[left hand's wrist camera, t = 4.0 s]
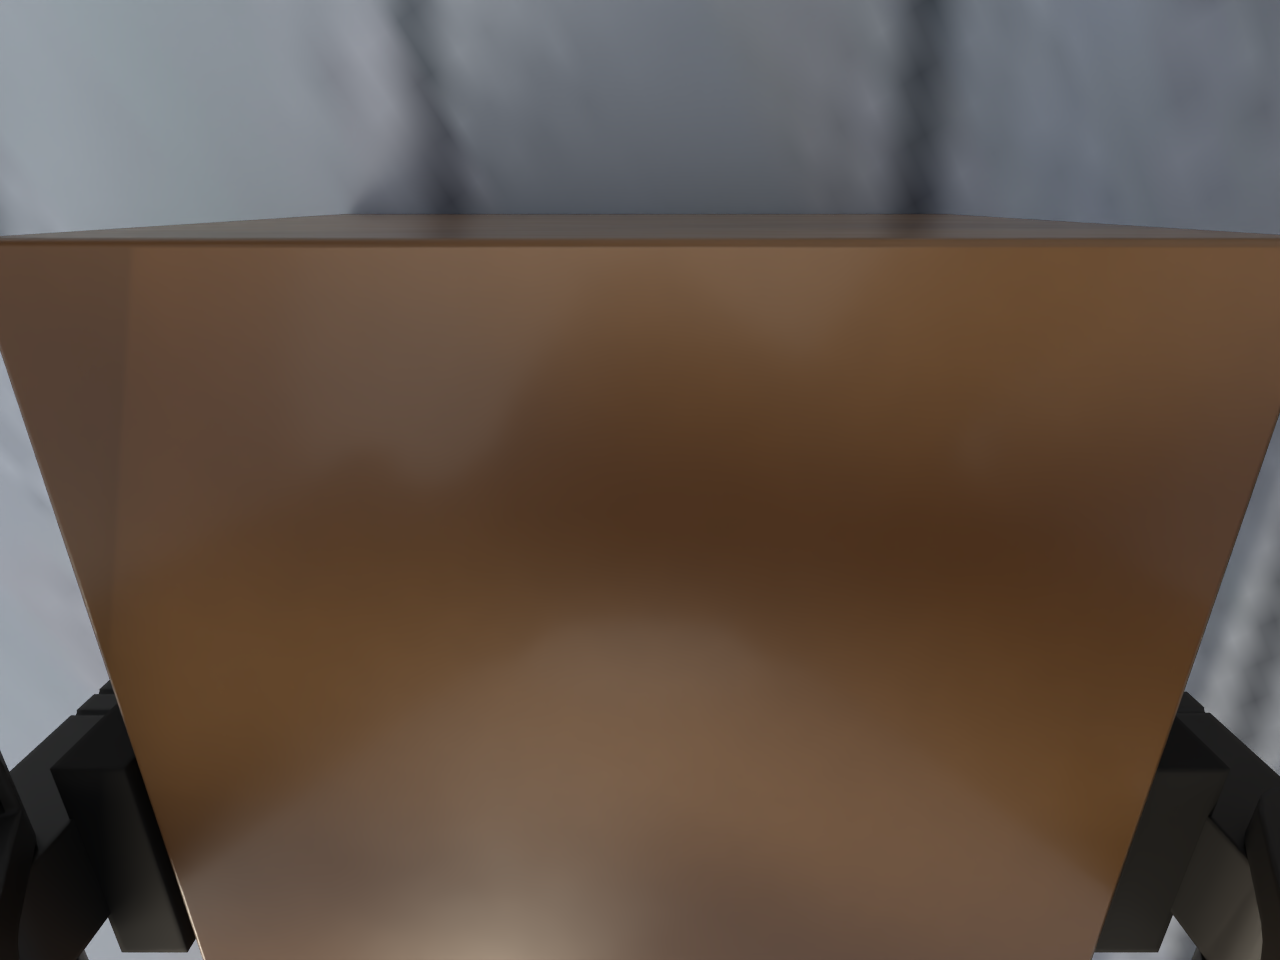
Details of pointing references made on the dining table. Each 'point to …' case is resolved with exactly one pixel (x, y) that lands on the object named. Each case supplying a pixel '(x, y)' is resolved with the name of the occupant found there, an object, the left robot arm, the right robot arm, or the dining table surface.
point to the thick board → (647, 565)
